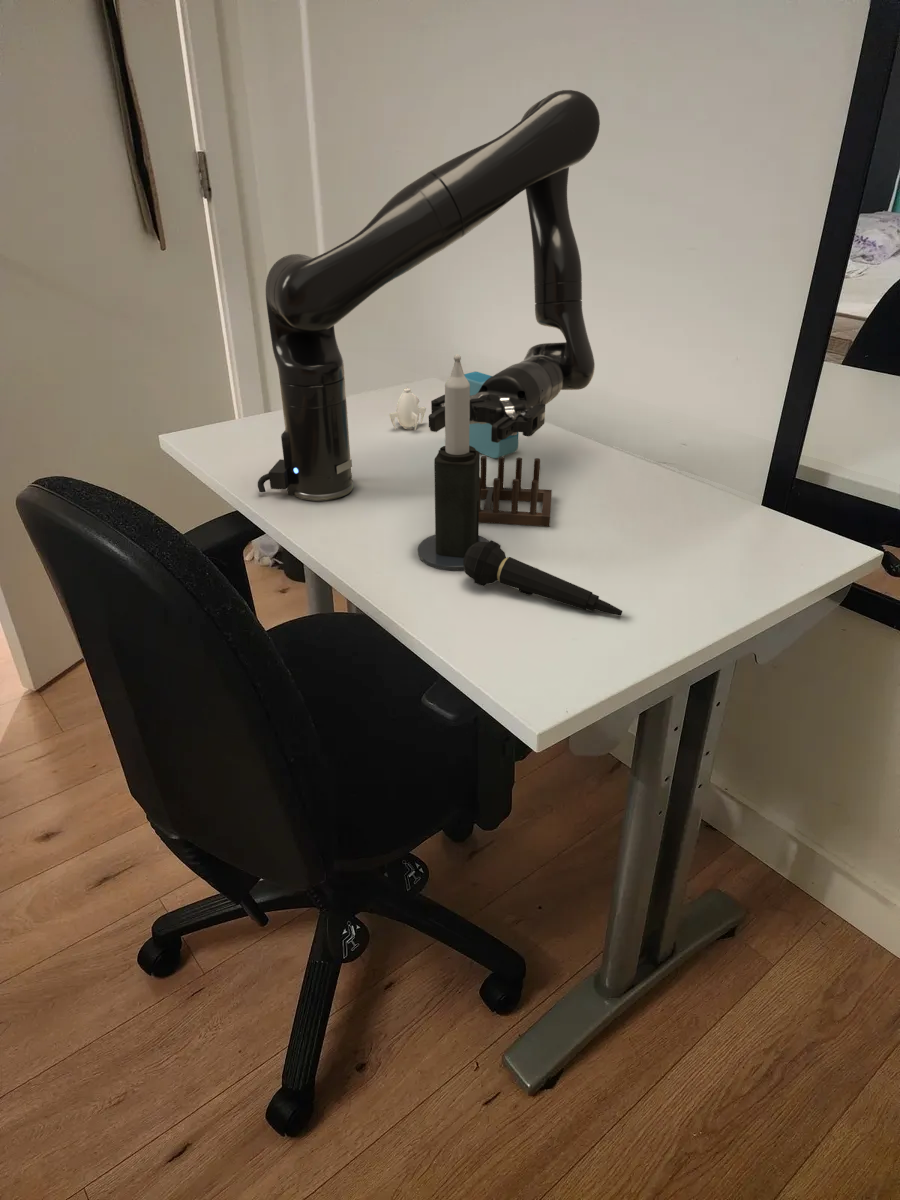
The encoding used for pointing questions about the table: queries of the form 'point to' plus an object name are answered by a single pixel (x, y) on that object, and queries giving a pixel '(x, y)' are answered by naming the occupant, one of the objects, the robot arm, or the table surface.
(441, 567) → the slate coaster
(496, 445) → the data package
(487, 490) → the drying rack
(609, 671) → the table surface
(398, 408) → the rocket toy
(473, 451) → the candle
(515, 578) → the microphone
